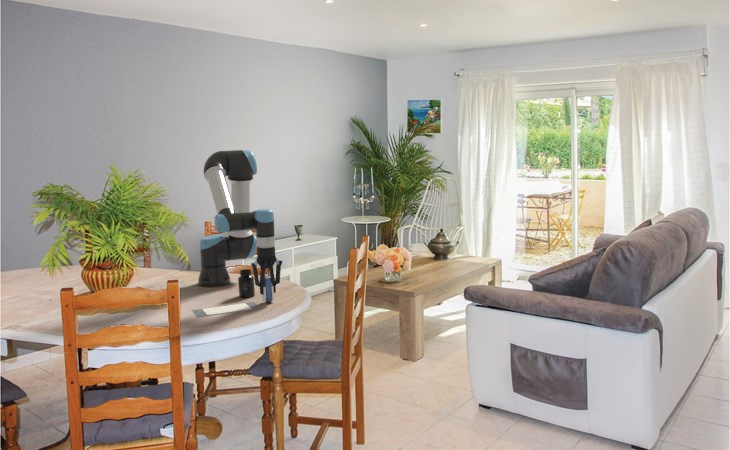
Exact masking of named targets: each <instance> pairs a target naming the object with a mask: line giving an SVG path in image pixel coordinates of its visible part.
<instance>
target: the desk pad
mask: <svg viewBox="0 0 730 450" xmlns="http://www.w3.org/2000/svg"><path fill="white" fill-rule="evenodd" d="M245 303H246V304H247V305H248V306H249V307H250V308H251V309H249V310H242V311H235V312H228V313H221V314H214V315H206V313H205V312H204V311H203V310H202V309H203V308H198V309H191V311H192V313H193V314H194V315H195V317H196V318H197V319H198V318H205V317H210V316H211V317H212V316H217V315H218V316H219V315H227V314H233V313H234V314H235V313H239V312H247V311H253V310H255V311H256V310H259V309H262V307H261V306H260V305H258V304H257V303H256V302H255V301H249V302H245ZM235 304H236V303H235ZM235 304H233V305H235ZM240 304H242V303H240ZM226 306H228V305H226ZM218 307H221V306H218ZM211 308H213V306H212V307H211ZM204 309H206V307H205V308H204Z"/></svg>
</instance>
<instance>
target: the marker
mask: <svg viewBox="0 0 730 450" xmlns="http://www.w3.org/2000/svg"><path fill="white" fill-rule="evenodd" d="M271 285H272V284H271V275H270V274H265V277H264V287H266V302H265V304H271V303H272V302H273V301H272V291H271Z"/></svg>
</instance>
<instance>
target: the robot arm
mask: <svg viewBox="0 0 730 450" xmlns="http://www.w3.org/2000/svg"><path fill="white" fill-rule="evenodd" d="M256 160H257V159H256V158H255V154H254V153H253V151H251V150H247V149H246V150H245V149H235V150H234V149H233V150H219V151H216V152H213V153H212V154H211V155H209V157H208V158H207V159H206V161H205V162H204V166H203V175H204V179H205V180H206V182H208V185H209V189H210V193H211V197H212V200H213V204H214V206H215V211H216V212H217V214H216V215H215V216H214V229H215V231H216V232H217V233H218V234H211V235H206V236H204V237H202V238H201V239H200V240H199V252H200V254H199V257H200V271H199V275H198V280H197V282H198V283H197V284H198V286H200V287H208V288H209V287H212V288H213V287H221V286H225V285H228V284H230V283H231V276H230V275H229V271H228V269H227V264H226V262H227V261H228V262H229V261H237V260H239V261H240V260H247V259H252V258H254V257H255V255H256V256H257V257H256V260H255V261H254V262H251V263H250V266H251V268H252V271H253V273H252V274H253V277H254V286H256V287H259V294H260V295H262V302H264V303H266V287H264V277H265V275H266V270H267V269H268V271H269V272H268V273H269V275H271V291H272V301H271V302H274V301H275V296H274V295H275V294H276V291H277V289H276V287H277V285H279V284H280V282H281V272H282V271H281V268H282V264H283V261H282V260H281V259H277V257H276V247H275V245H276V241H275V239H276V238H275V215H274V210H273V209H272V208H271V209H269V208H260V209H257V210H253V211H250V210H251V209H250V207H251V206H250V203H251V201H250V199H251V197H250V196H251V194H250V193H251V191H250V190H251V188H250V182H251V181H252V180H253V179H254V176H255V175H257V174H258V173H257V172H258V166H257V161H256ZM226 177H227V179H226ZM228 180H229V182H230V184H231V188H229V185H228V182H227V181H228ZM230 189H231V193H230ZM253 230H255V233H256V234H254V232H253ZM219 233H221V234H219ZM223 233H228V236H225V235H224V234H223ZM258 265H259V268H260V273H259V272H258ZM274 265H276V267H275V271H274Z"/></svg>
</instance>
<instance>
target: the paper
mask: <svg viewBox="0 0 730 450" xmlns="http://www.w3.org/2000/svg"><path fill="white" fill-rule="evenodd" d="M246 303H247V302H244V303H242V304H241V303H235V305H234V304H229V305H228V306H227V305H222V306H221V307H219V306H214V307H213V306H212V307H213V308H212V307H207V308H206V307H205V308H206V309H205V308H201V309H202V310H203V311H204V312H205V313H206V315H213V316H215V315H214V314H220V315H222V314H221V313H227V314H229V313H228V312H234V313H236V312H235V311H241V312H243V311H242V310H248V311H250V310H249V309H251V308H250V307H249V306H248V305H247V304H246Z"/></svg>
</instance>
